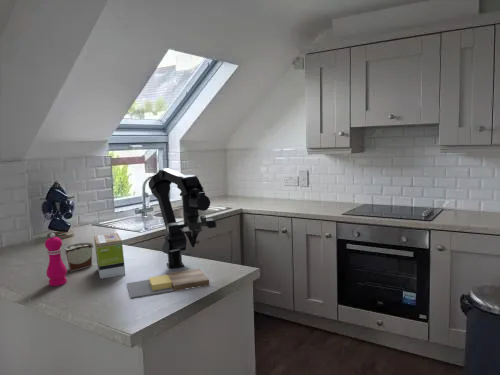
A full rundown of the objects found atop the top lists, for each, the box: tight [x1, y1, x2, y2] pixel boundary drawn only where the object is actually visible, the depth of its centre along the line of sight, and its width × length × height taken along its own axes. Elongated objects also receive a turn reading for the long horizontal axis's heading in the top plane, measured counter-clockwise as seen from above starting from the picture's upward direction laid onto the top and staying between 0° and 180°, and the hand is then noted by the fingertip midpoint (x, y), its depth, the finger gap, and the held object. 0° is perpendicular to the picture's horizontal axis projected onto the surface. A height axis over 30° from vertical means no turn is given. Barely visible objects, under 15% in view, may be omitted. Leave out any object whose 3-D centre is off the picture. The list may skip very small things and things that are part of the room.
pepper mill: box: [44, 232, 68, 287], centre depth 168 cm, size 7×7×20 cm
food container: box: [63, 242, 94, 272], centre depth 189 cm, size 12×6×10 cm, turn 134°
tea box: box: [93, 232, 126, 279], centre depth 180 cm, size 15×10×15 cm
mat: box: [126, 279, 175, 300], centre depth 159 cm, size 16×15×1 cm
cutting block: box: [166, 267, 210, 292], centre depth 164 cm, size 15×13×2 cm
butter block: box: [148, 274, 172, 290], centre depth 160 cm, size 9×7×2 cm
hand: (193, 246), depth 171 cm, fingers closed
